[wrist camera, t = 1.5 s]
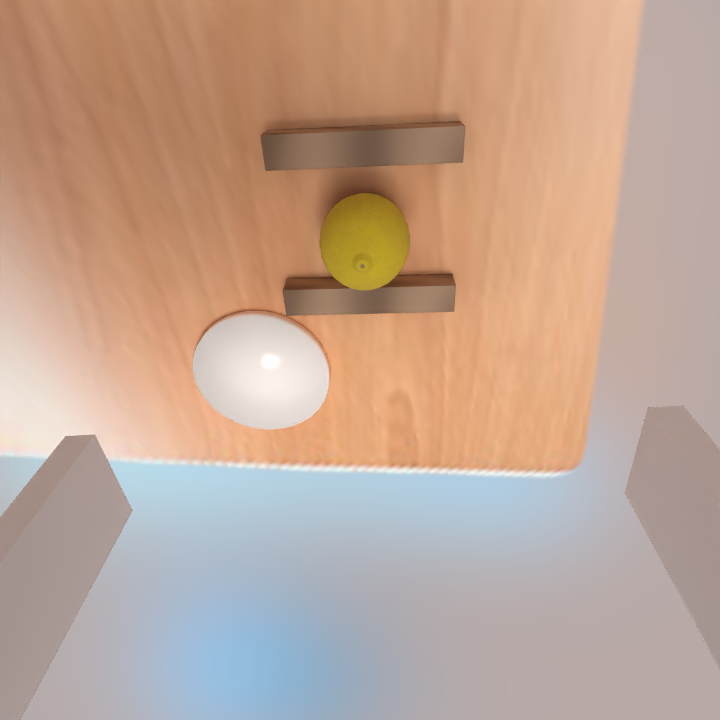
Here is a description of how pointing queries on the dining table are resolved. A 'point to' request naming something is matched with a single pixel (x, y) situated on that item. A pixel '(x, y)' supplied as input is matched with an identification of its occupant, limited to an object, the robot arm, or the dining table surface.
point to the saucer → (261, 370)
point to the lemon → (364, 241)
